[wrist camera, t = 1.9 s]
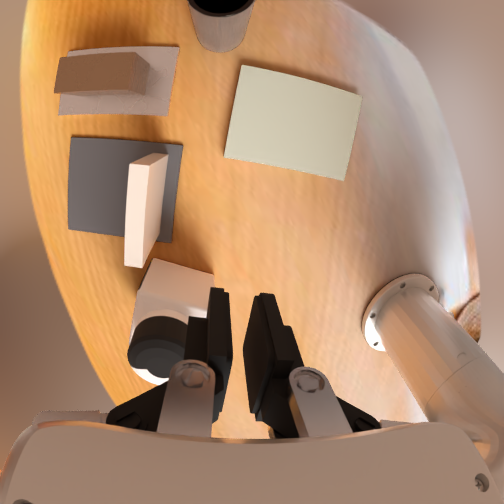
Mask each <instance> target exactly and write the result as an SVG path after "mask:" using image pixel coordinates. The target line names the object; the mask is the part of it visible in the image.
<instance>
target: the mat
mask: <svg viewBox="0 0 504 504" xmlns="http://www.w3.org/2000/svg"><path fill="white" fill-rule="evenodd" d="M182 150H183V145H175V144H166V143H156V142H145V141H134V140H120V139H103V138H79V137H71V146H70V159H69V179H68V229H70V230H77V231H85V232H92V233H99V234H107V235H114V236H122V237H125V218H126V200H127V187H128V175H129V165H130V163H132V162H134V161H136V160H139V159H141V158H143V157H145V156H147V155H150V154H152V153H160V154H169V155H168V162H167V170H166V178H165V186H164V195H163V204H162V215H161V226H160V233H159V235H158V237H157V239H156V241H159V242H166V243H171V241H172V230H173V220H174V211H175V202H176V194H177V186H178V178H179V171H180V164H181V157H182Z"/></svg>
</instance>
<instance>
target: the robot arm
mask: <svg viewBox="0 0 504 504" xmlns="http://www.w3.org/2000/svg"><path fill="white" fill-rule="evenodd" d="M362 333H363V336H364V338H365V340H366V341H367V343H368V344H369V345H370V346H371V347H372V348H374V349H376V350H379V351H386V352H387V354H388V355H389V357H390V358H391V360H392V362H393V363H394V365H395V366H396V368H397V370H398V371H399V373H400V374H401V376H402V378H403V379H404V381H405V383H406V384H407V386H408V387H409V389H410V391H411V392H412V394H413V396H414V397H415V399H416V401H417V403H418V404H419V406H420V408H421V409H422V411H423V413H424V414H425V416H426V418H427V420H428V421H429V422H421V423H407V422H397V421H388V420H380V422H378V421H377V420H376V419H375V418H374V417H372V416H371V415H369V414H367V413H365V412H364V411H362V410H360V409H358V408H356V407H354V406H353V405H351V404H349V403H347V402H346V401H344V400H342V399H340V398H339V397H337V396H335V394H334V391H333V389H332V387H331V385H330V383H329V381H328V379H327V378H326V376H325V375H324V374H323V373H322V372H320V371H318V370H316V369H314V368H310V367H304V364H303V361H302V358H301V355H300V352H299V349H298V346H297V343H296V340H295V337H294V334H293V331H292V328H291V326H286V325H283V322H282V318H281V315H280V312H279V308H278V305H277V302H276V299H275V295H274V294H268V293H260V294H259V296H255V297H254V301H253V305H252V309H251V314H250V318H249V323H248V327H247V331H246V336H245V340H244V344H243V358H244V366H245V375H246V383H247V391H248V399H249V408H250V413H255V419H256V421H263V422H264V423H266V424H267V425H268V433H269V437H270V439H228V438H211V430H212V423H214V422H215V421H217V420H218V416H219V412H222V408H223V403H224V399H225V394H226V389H227V385H228V380H229V375H230V371H231V366H232V360H233V346H232V333H231V318H230V303H229V293H228V292H224V288H216V287H210V294H209V301H208V308H207V316H206V318H201V317H193V316H189V318H188V326H187V334H186V342H185V351H184V360H182V361H180V362H178V363H176V364H175V365H174V366H173V367H172V369H171V371H170V375H169V379H168V381H166V382H164V383H162V384H160V385H158V386H156V387H155V388H153V389H151V390H149V391H147V392H145V393H143V394H141V395H139V396H137V397H135V398H133V399H131V400H129V401H127V402H125V403H123V404H121V405H119V406H117V407H115V408H114V409H112V410H111V411H110V412H109V413H100V411H99V410H98V411H50V410H49V411H42V412H40V413H39V414H37V415H36V416H35V418H34V419H33V422H32V426H30V427H28V428H27V429H26V430H24V431H23V432H22V433H21V435H20V436H19V437H18V438H17V440H16V441H15V443H14V445H13V447H12V449H11V451H10V453H9V455H8V457H7V459H6V462H5V464H4V467H3V469H2V472H1V476H0V504H504V373H503V372H502V371H501V370H500V369H499V368H498V367H497V366H496V364H495V363H494V362H493V361H492V360H491V359H490V357H489V356H488V355H487V354H486V353H485V352H484V351H483V349H482V348H481V347H480V346H479V345H478V344H477V343H476V342H475V340H474V339H473V338H472V337H471V336H470V335H469V334H468V333H467V332H466V331H465V330H464V329H463V328H462V326H461V325H460V324H459V323H458V322H457V321H456V320H455V319H454V314H453V313H451V312H447V311H446V310H445V309H444V308H443V307H442V306H441V305H440V304H439V294H438V289H437V287H436V285H435V284H434V283H433V281H432V280H430V279H429V278H428V277H427V276H424V275H422V274H408V275H404V276H401V277H399V278H397V279H395V280H393V281H392V282H390V283H389V284H387V285H386V286H385V287H384V288H382V289H381V290H380V291H379V292H378V293H377V294H376V296H375V297H374V298H373V299H372V301H371V302H370V304H369V305H368V307H367V309H366V311H365V313H364V317H363V320H362Z"/></svg>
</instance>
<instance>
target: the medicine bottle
mask: <svg viewBox="0 0 504 504" xmlns="http://www.w3.org/2000/svg"><path fill="white" fill-rule="evenodd" d="M214 283H215V277H214V275H213V274H209V273H206V272H202V271H199V270H195V269H192V268H188V267H185V266H181V265H178V264H174V263H171V262H167V261H164V260H161V259H157V258H153V259H152V260H151V262H150V264H149V266H148V268H147V271H146V273H145V275H144V277H143V280H142V282H141V284H140V287H139V289H138V291H137V296H136V302H135V308H134V313H133V320H132V326H131V332H130V339H129V349H128V353H127V356H128V361H129V363H130V365H131V367H132V368H133V370H134V371H135V372H136V373H137V374H138V375H139V376H140V377H142V378H143V379H145V380H146V381H148V382H151V383H153V384H157V385H160V384H162V383H164V382H166V381H168V379H169V375H170V371H171V369H172V367H173V366H174V365H175V364H176V363H178V362H180V361H182V360H184V351H185V342H186V334H187V326H188V318H189V316H193V317H201V318H206V316H207V308H208V301H209V294H210V287H214Z"/></svg>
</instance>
